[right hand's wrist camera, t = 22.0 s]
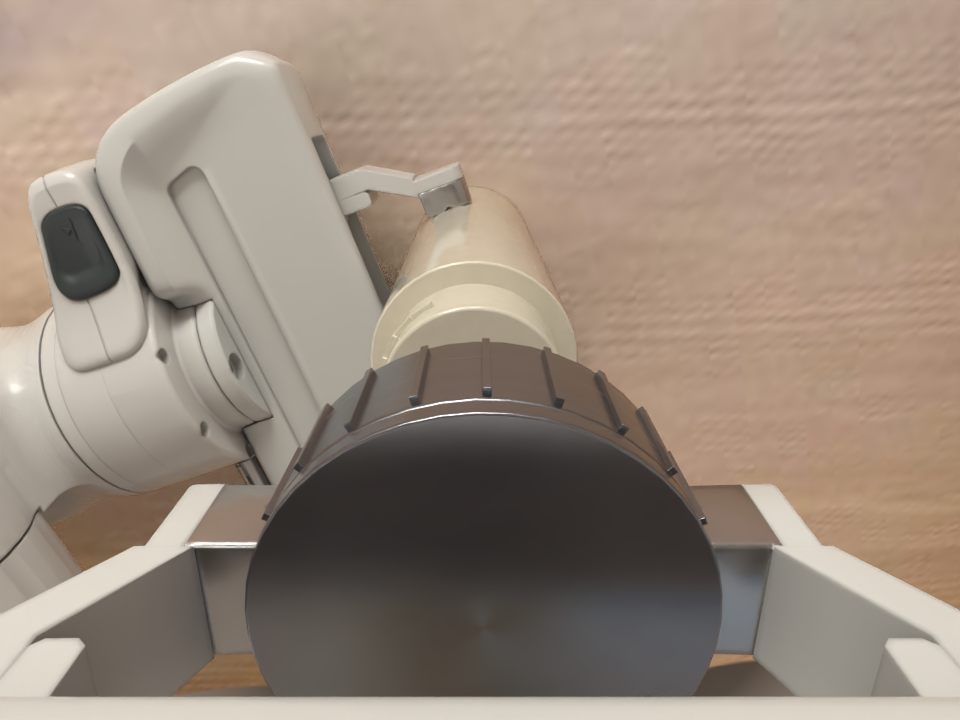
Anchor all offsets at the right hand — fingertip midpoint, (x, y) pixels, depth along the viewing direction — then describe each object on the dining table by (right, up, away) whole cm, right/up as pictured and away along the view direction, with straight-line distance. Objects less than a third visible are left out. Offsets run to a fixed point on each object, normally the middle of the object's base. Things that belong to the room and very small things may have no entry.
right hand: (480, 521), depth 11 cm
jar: (0, +8, +21) cm, 23 cm away
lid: (0, -1, -2) cm, 2 cm away
